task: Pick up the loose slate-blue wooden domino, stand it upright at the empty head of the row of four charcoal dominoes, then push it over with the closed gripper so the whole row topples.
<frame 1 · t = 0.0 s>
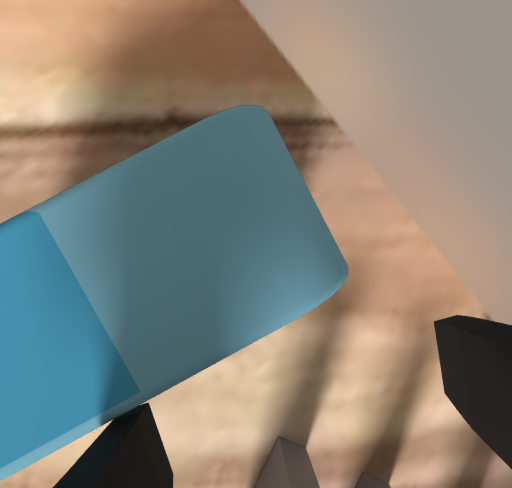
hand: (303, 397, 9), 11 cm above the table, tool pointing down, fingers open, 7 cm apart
domino 5: (271, 485, 20), on the table
data package: (163, 267, 20), on the table
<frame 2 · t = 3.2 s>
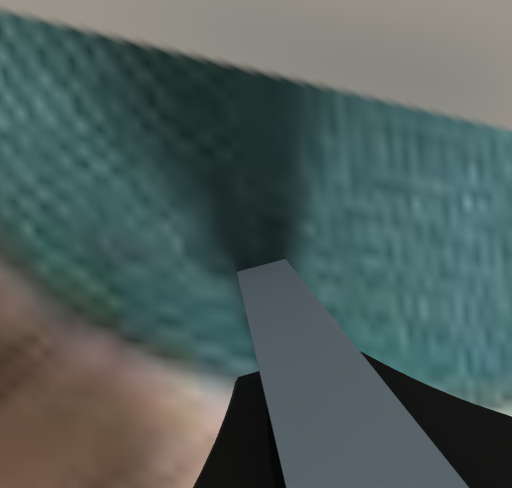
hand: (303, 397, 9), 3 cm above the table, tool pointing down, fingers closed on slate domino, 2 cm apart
slate domino: (278, 336, 13), on the table, touching gripper
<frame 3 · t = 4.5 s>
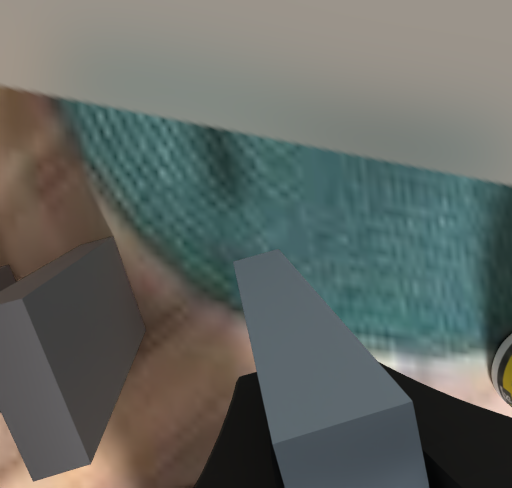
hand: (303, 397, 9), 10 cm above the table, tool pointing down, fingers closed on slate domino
slate domino: (273, 322, 13), point 6 cm above the table, touching gripper
domino 2: (114, 288, 19), on the table
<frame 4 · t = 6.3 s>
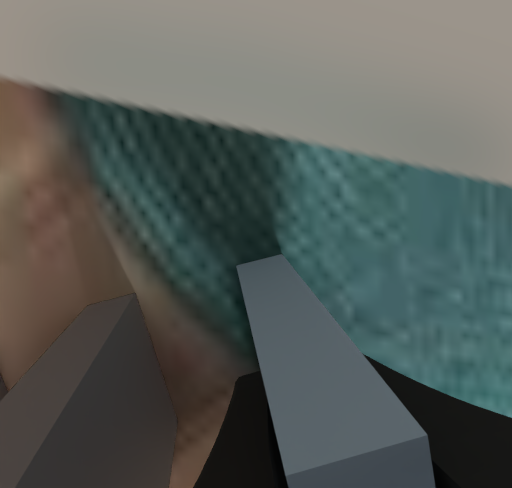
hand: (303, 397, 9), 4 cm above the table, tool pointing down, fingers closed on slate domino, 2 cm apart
slate domino: (275, 326, 13), on the table, touching gripper
domino 2: (134, 366, 13), on the table
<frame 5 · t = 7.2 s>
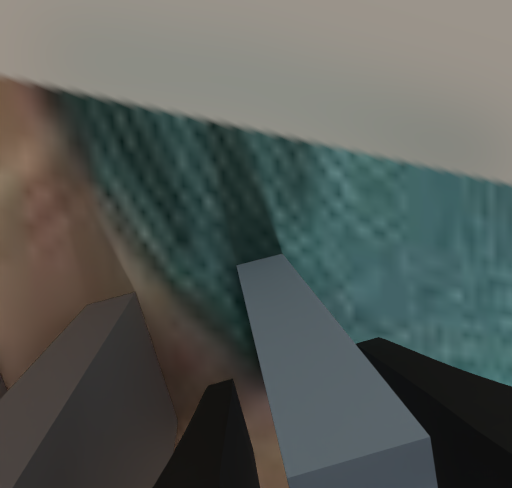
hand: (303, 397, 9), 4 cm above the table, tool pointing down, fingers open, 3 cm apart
slate domino: (275, 326, 13), on the table
domino 2: (134, 365, 13), on the table
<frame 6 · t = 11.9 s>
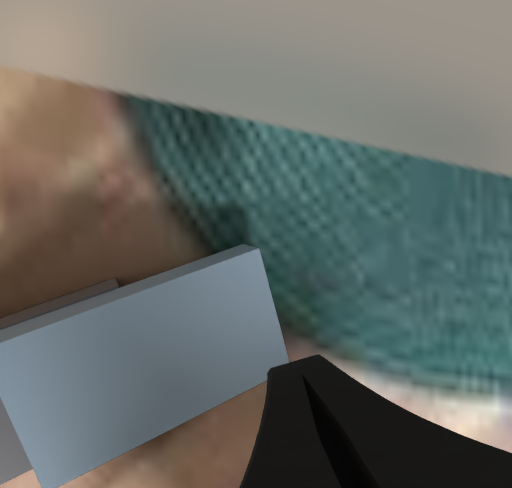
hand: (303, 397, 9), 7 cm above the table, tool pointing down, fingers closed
slate domino: (266, 305, 15), point 1 cm above the table, tilted 72°, touching domino 2
domino 2: (138, 340, 15), point 1 cm above the table, tilted 72°, touching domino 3, slate domino
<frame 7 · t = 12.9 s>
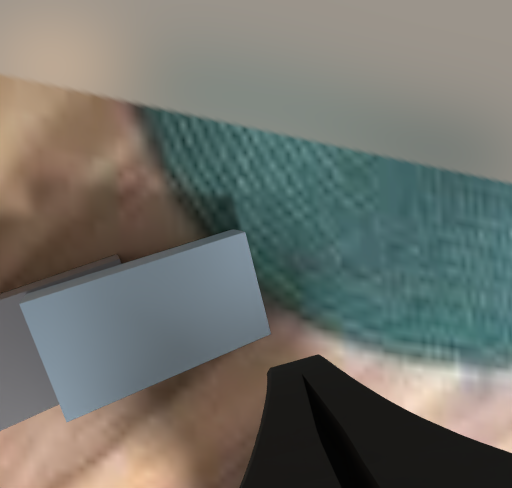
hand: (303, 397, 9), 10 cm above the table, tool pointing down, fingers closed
slate domino: (251, 281, 18), point 1 cm above the table, tilted 73°, touching domino 2
domino 2: (136, 306, 18), point 1 cm above the table, tilted 72°, touching slate domino
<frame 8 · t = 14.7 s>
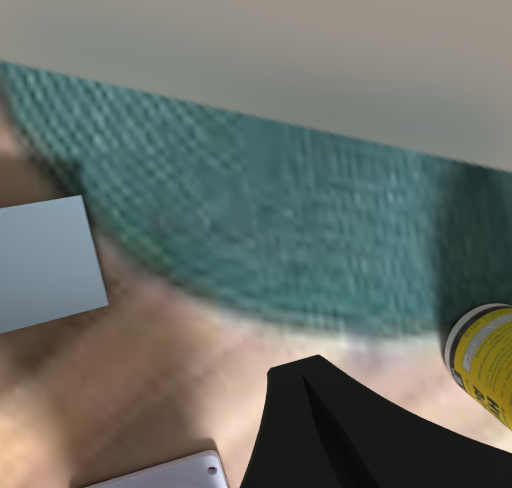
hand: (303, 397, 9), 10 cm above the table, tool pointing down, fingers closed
supplement bottle: (482, 345, 22), on the table
slate domino: (95, 249, 17), point 1 cm above the table, tilted 74°, touching domino 2
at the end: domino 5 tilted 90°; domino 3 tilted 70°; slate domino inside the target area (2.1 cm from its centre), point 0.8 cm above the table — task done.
